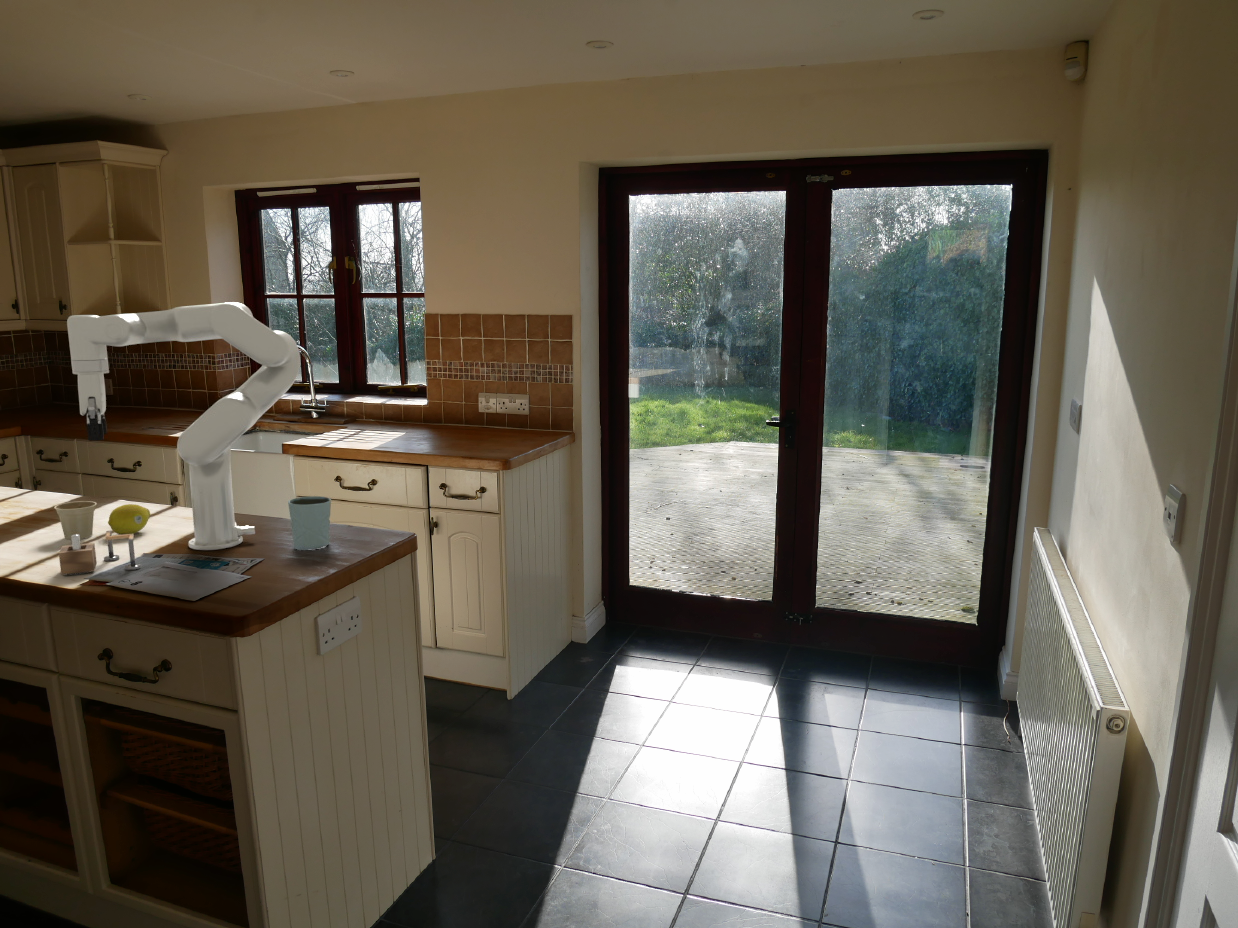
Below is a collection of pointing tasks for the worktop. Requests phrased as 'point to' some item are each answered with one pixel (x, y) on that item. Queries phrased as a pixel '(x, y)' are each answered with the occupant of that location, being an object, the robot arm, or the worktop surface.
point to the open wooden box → (77, 559)
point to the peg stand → (76, 547)
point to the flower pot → (76, 518)
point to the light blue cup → (310, 521)
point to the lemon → (128, 519)
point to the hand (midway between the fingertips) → (97, 437)
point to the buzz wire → (116, 557)
